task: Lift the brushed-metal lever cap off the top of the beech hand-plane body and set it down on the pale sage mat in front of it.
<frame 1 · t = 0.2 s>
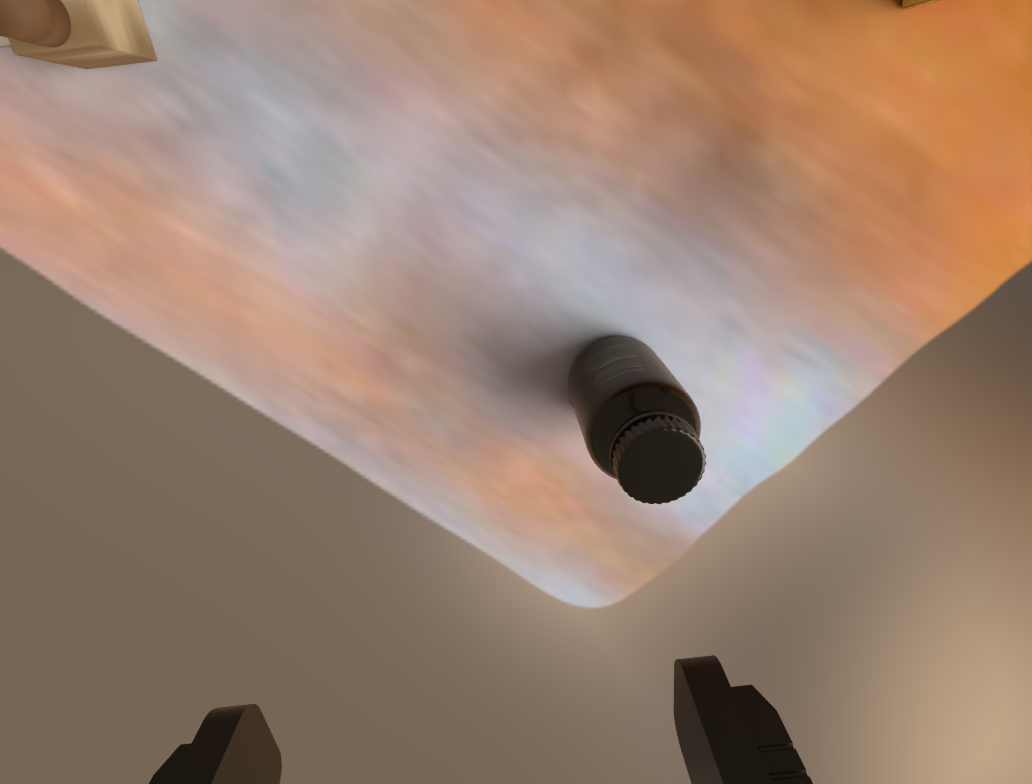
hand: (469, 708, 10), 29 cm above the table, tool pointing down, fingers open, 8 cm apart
supplement bottle: (613, 377, 39), on the table
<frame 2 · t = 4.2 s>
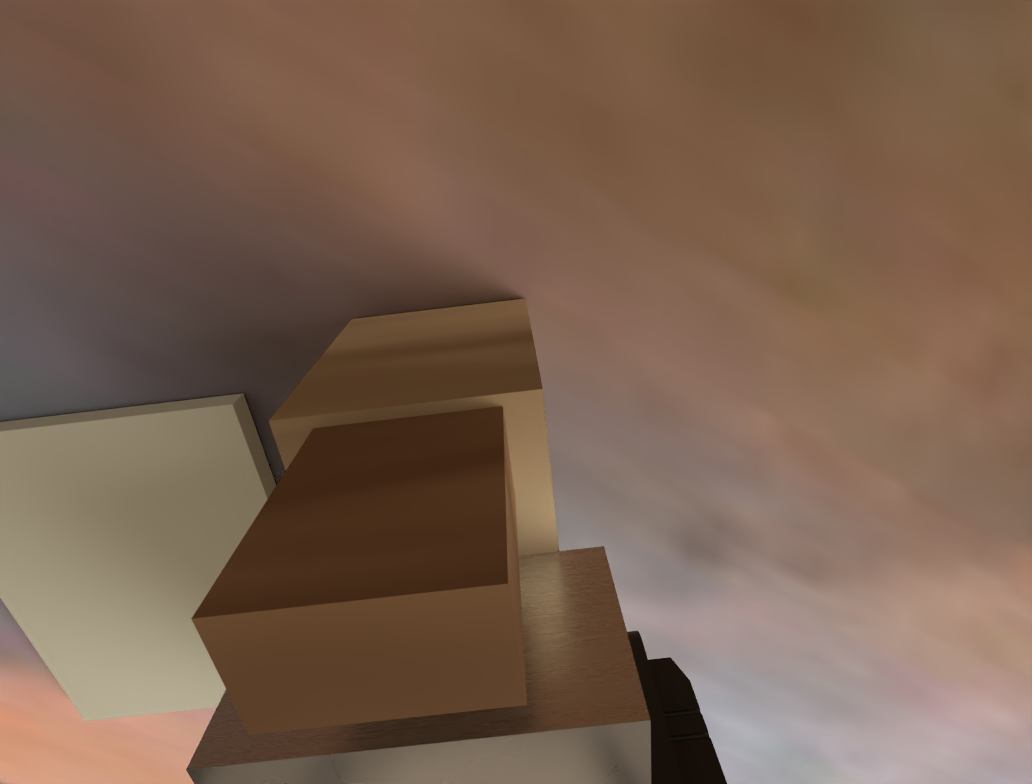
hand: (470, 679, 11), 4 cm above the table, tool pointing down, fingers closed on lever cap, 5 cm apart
plane body: (478, 534, 15), on the table
lever cap: (471, 702, 11), point 5 cm above the table, touching gripper, plane body
mat: (160, 570, 15), on the table
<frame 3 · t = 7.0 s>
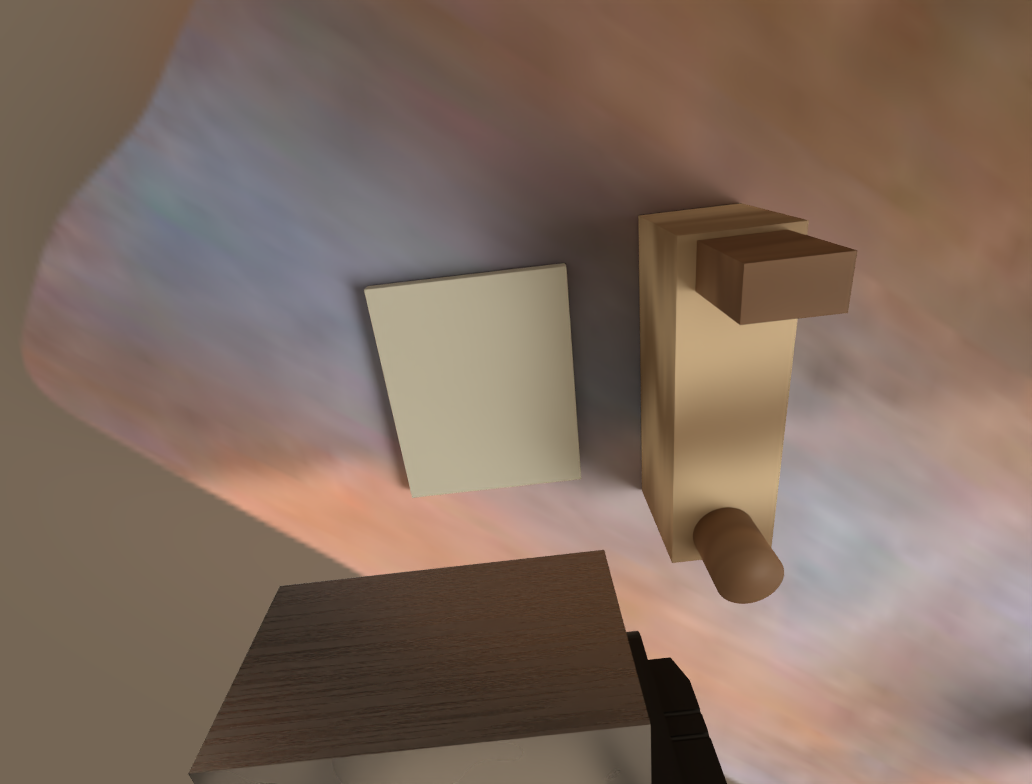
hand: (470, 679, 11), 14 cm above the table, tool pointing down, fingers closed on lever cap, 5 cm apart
plane body: (685, 363, 24), on the table
lever cap: (471, 705, 11), point 15 cm above the table, touching gripper
mat: (482, 386, 24), on the table
when the fingers open (1 cm above the table, at t = 9.7 s): lever cap drops 1 cm, resting on mat.
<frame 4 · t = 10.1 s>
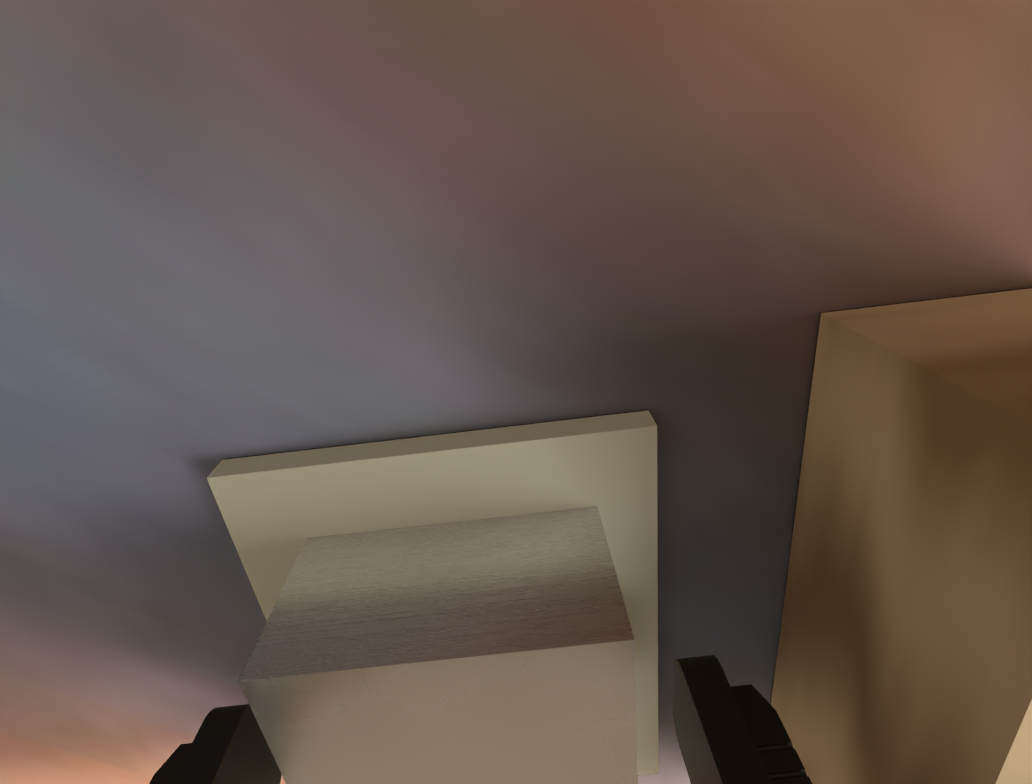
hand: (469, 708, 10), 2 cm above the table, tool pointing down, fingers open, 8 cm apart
plane body: (875, 584, 12), on the table
lever cap: (476, 652, 12), point 1 cm above the table, touching mat
mat: (472, 628, 12), on the table
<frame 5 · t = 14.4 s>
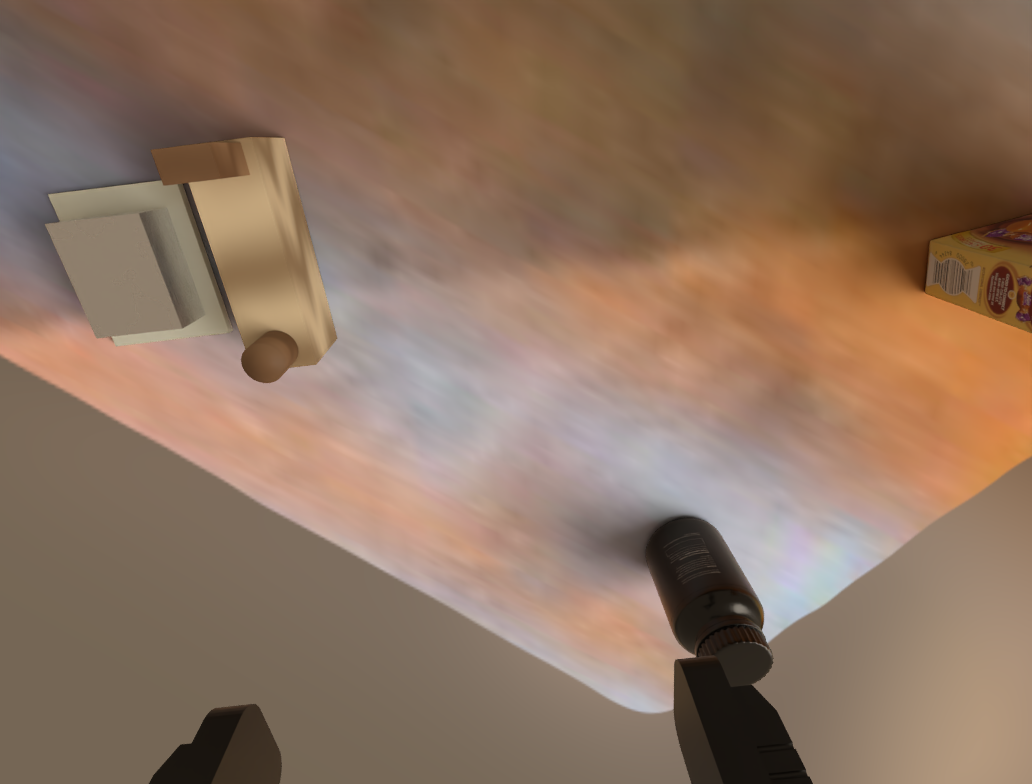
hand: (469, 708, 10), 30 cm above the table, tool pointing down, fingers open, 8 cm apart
plane body: (282, 249, 36), on the table
candy box: (987, 253, 38), on the table
lever cap: (145, 268, 36), point 1 cm above the table, touching mat
supplement bottle: (681, 544, 48), on the table
mat: (149, 265, 36), on the table
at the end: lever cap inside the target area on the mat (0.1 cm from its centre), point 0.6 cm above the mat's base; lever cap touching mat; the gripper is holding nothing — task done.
